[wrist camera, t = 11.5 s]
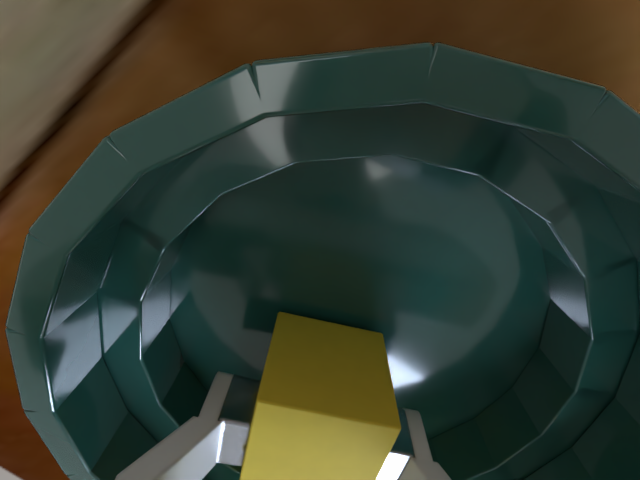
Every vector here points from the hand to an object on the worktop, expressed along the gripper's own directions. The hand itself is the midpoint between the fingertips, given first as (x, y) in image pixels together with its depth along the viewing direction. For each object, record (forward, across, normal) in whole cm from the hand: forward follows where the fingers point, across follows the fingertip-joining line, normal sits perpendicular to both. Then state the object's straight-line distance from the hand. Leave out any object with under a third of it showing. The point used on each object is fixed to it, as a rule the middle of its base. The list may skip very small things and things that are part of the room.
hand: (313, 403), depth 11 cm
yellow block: (+1, 0, 0) cm, 1 cm away
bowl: (+2, -1, -2) cm, 3 cm away
